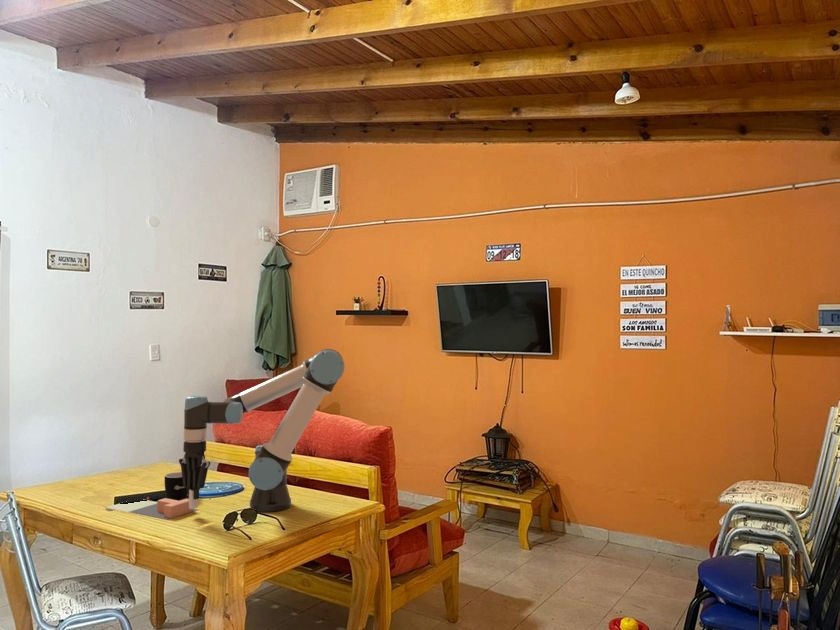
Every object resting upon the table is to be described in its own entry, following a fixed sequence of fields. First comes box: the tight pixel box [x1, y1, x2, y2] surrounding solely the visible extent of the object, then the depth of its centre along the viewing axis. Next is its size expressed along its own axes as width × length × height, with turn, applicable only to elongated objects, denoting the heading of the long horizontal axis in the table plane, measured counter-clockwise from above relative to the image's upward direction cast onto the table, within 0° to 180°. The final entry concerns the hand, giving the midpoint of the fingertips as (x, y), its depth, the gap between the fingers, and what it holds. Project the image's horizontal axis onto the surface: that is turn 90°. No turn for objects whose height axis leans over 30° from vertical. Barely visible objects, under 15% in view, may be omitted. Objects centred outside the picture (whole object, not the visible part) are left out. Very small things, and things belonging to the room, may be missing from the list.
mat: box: [105, 499, 198, 521], centre depth 235 cm, size 32×14×1 cm, turn 63°
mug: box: [164, 471, 188, 501], centre depth 249 cm, size 12×9×10 cm
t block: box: [156, 497, 193, 519], centre depth 230 cm, size 10×10×4 cm
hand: (193, 508), depth 225 cm, fingers closed
